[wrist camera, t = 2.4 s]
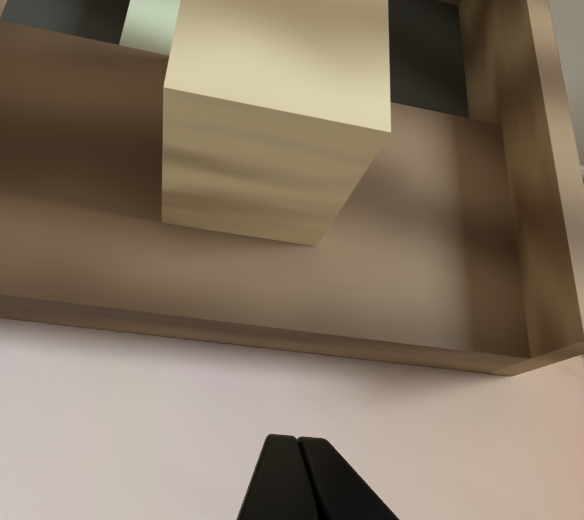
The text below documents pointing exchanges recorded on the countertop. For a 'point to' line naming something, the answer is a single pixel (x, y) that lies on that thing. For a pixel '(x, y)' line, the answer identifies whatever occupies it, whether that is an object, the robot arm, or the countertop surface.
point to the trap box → (347, 224)
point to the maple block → (272, 113)
